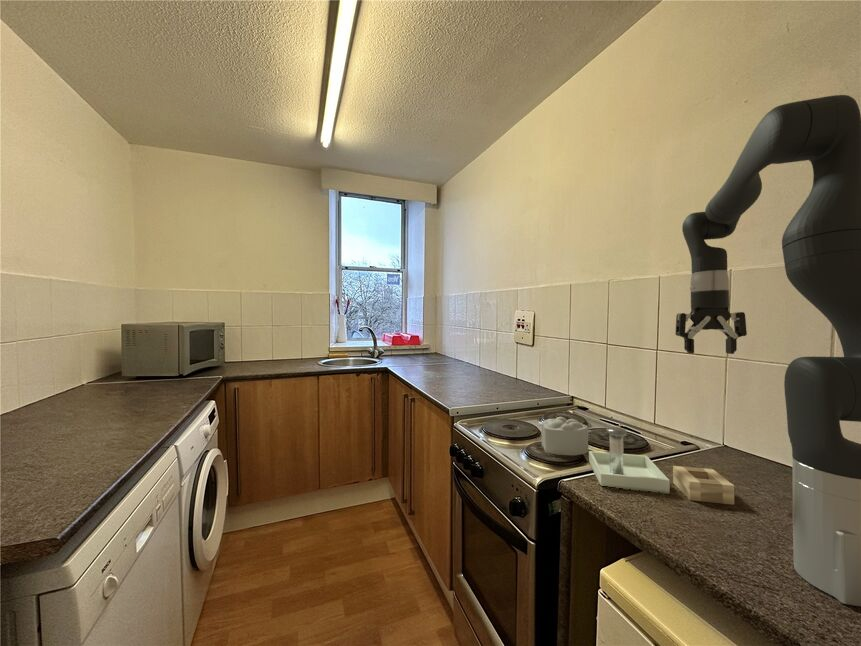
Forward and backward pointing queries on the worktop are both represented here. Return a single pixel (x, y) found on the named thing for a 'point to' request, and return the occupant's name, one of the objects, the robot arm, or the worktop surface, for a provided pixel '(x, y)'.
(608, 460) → the parts tray
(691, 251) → the robot arm
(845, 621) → the worktop surface
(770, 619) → the worktop surface
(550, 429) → the lumpy-topped squat cylinder
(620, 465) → the pin
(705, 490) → the frame
